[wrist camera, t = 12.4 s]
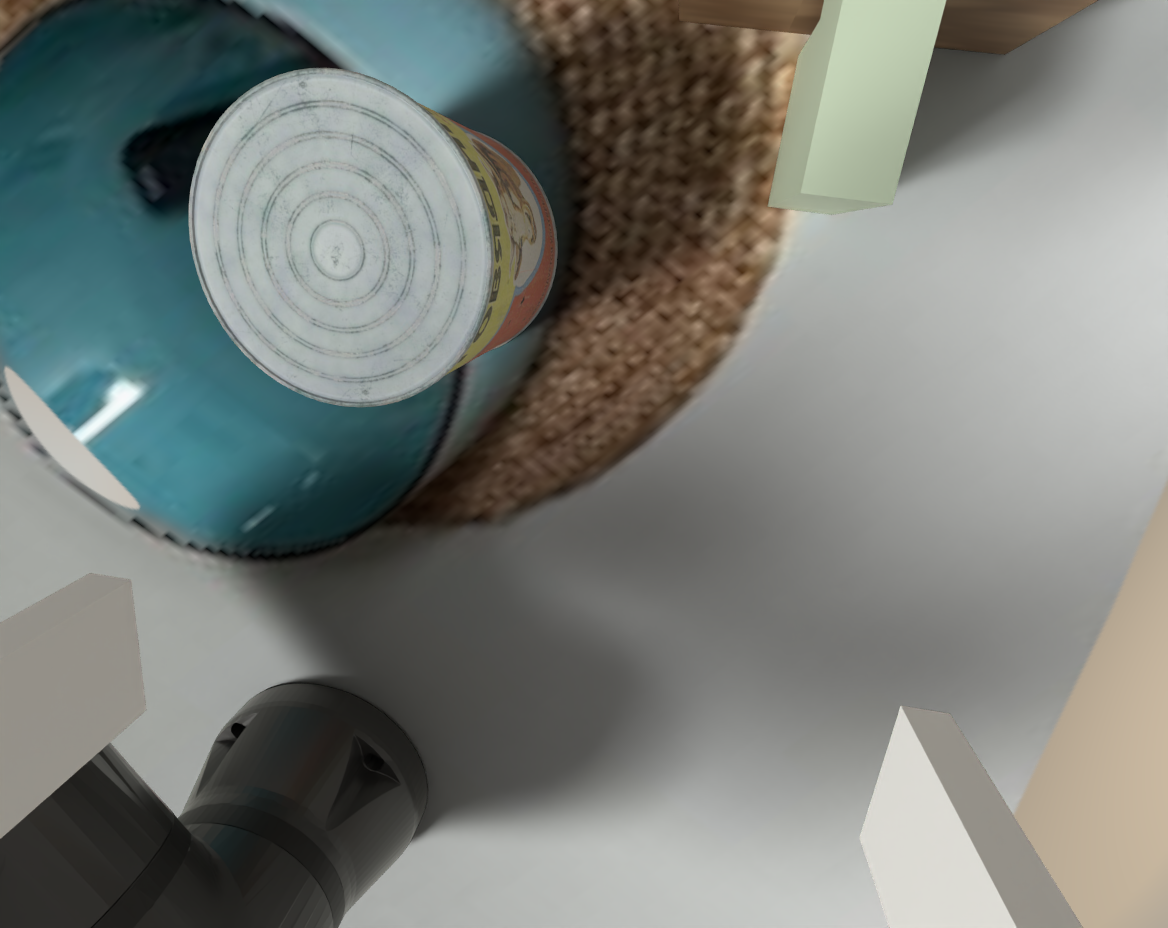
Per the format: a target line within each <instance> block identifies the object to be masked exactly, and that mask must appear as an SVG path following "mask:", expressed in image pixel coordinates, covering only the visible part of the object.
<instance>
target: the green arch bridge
mask: <svg viewBox="0 0 1168 928" xmlns="http://www.w3.org/2000/svg"><path fill="white" fill-rule="evenodd" d="M945 3H946V0H824V3H823V8H822V13H821V17H820V21H819V22H818V24H817V26H816V27H815V29H814V31H813V32H812V34H811V36H810V37H809V39H808V41H807V42H806V44H805V46H804V47H803V49H802V51H801V52H800V54H799V56H798V61H797V66H796V70H795V75H794V80H793V85H792V90H791V95H790V100H789V105H788V109H787V114H786V119H785V124H784V129H783V134H782V139H781V144H780V149H779V153H778V158H777V163H776V168H775V173H774V178H773V183H772V188H771V193H770V197H769V202H768V207H775V208H783V209H790V210H798V211H806V212H814V213H822V214H830V215H833V214H839V213H845V212H851V211H857V210H863V209H869V208H875V207H881V206H887V205H892V204H893V200H894V196H895V192H896V189H897V185H898V181H899V177H900V174H901V170H902V166H903V162H904V158H905V155H906V151H907V147H908V143H909V139H910V136H911V132H912V128H913V124H914V121H915V117H916V113H917V109H918V105H919V102H920V98H921V94H922V90H923V87H924V83H925V79H926V75H927V71H928V68H929V64H930V60H931V56H932V52H933V49H934V45H935V41H936V37H937V34H938V30H939V26H940V22H941V18H942V15H943V11H944V7H945Z"/></svg>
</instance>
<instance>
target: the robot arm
mask: <svg viewBox="0 0 1168 928" xmlns="http://www.w3.org/2000/svg"><path fill="white" fill-rule="evenodd" d="M145 711H146V701H145V693H144V684H143V676H142V667H141V659H140V651H139V642H138V634H137V625H136V617H135V608H134V600H133V591H132V583H131V580H130V579H124V578H118V577H112V576H106V575H100V574H94V573H89V574H88V575H86V576H84V577H82V578H80V579H79V580H77V581H75V582H73V583H71V584H70V585H68V586H66V587H64V588H62V589H61V590H59V591H57V592H55V593H53V594H52V595H50V596H48V597H46V598H44V599H43V600H41V601H39V602H37V603H35V604H34V605H32V606H30V607H28V608H26V609H25V610H23V611H21V612H19V613H17V614H16V615H14V616H12V617H10V618H8V619H6V620H5V621H3V622H1V623H0V928H338V927H339V925H340V923H341V921H342V919H343V917H344V915H345V914H346V912H347V911H348V910H349V909H350V908H351V907H352V906H353V905H354V904H355V903H356V902H357V901H358V900H359V899H360V898H361V897H362V895H363V894H364V893H365V892H366V891H367V890H368V889H369V888H370V887H371V886H372V885H373V884H374V883H375V882H376V881H377V880H378V879H379V878H380V877H381V876H382V875H383V874H384V873H385V872H386V871H387V869H388V868H389V867H390V866H391V865H392V864H393V863H394V862H395V861H396V860H397V859H398V858H399V857H400V856H401V855H402V853H403V852H404V851H405V849H406V848H407V846H408V845H409V843H410V841H411V839H412V837H413V835H414V833H415V831H416V829H417V826H418V824H419V822H420V820H421V818H422V816H423V813H424V810H425V807H426V802H427V781H426V776H425V772H424V768H423V765H422V763H421V760H420V758H419V756H418V754H417V752H416V750H415V749H414V747H413V745H412V744H411V742H410V741H409V739H408V738H407V737H406V736H405V734H404V733H403V732H402V731H401V730H400V729H399V727H398V726H397V725H396V724H395V723H394V722H393V721H392V720H390V719H389V718H388V717H387V716H386V715H385V714H383V713H382V712H381V711H379V710H378V709H376V708H375V707H373V706H372V705H370V704H369V703H367V702H365V701H364V700H362V699H360V698H358V697H356V696H353V695H351V694H349V693H346V692H344V691H341V690H338V689H334V688H331V687H327V686H321V685H315V684H287V685H281V686H277V687H274V688H271V689H268V690H265V691H263V692H261V693H259V694H258V695H256V696H254V697H253V698H252V699H250V700H249V701H248V702H247V703H246V704H245V705H244V706H243V707H242V708H241V709H240V710H239V711H238V712H237V713H236V714H235V715H234V716H233V717H232V718H231V719H230V721H229V722H228V723H227V724H226V725H225V726H224V727H223V729H222V730H221V732H220V733H219V735H218V736H217V738H216V740H215V742H214V744H213V746H212V748H211V750H210V752H209V755H208V757H207V759H206V761H205V763H204V766H203V768H202V770H201V772H200V774H199V777H198V779H197V781H196V783H195V785H194V788H193V790H192V792H191V794H190V796H189V799H188V801H187V803H186V805H185V807H184V810H183V812H182V814H181V815H180V816H179V817H178V818H177V817H176V816H175V815H174V813H173V812H172V811H171V810H170V809H169V807H168V806H167V805H166V804H165V803H164V802H163V801H162V800H161V799H160V798H159V797H158V796H157V794H156V793H155V792H154V791H153V790H152V789H151V788H150V787H149V786H148V785H147V784H146V783H145V781H144V780H143V779H142V778H141V777H140V776H139V775H138V774H137V773H136V772H135V770H134V769H133V768H132V767H131V766H130V765H129V764H128V762H127V761H126V760H125V759H124V758H123V757H122V756H121V754H120V753H119V752H118V751H117V750H116V749H115V748H114V746H113V745H112V744H111V743H110V742H111V741H112V740H113V739H114V738H116V737H117V736H118V735H119V734H120V733H121V732H122V731H124V730H125V729H126V728H127V727H128V726H129V725H130V724H131V723H133V722H134V721H135V720H136V719H137V718H138V717H139V716H141V715H142V714H143V713H144V712H145ZM860 842H861V845H862V848H863V851H864V854H865V857H866V860H867V863H868V866H869V869H870V872H871V875H872V878H873V881H874V884H875V887H876V890H877V893H878V896H879V899H880V902H881V905H882V908H883V911H884V914H885V917H886V920H887V923H888V926H889V928H1083V927H1082V925H1081V924H1080V922H1079V920H1078V919H1077V917H1076V916H1075V914H1074V912H1073V911H1072V909H1071V908H1070V906H1069V904H1068V903H1067V901H1066V900H1065V898H1064V896H1063V895H1062V893H1061V891H1060V890H1059V888H1058V887H1057V885H1056V883H1055V882H1054V880H1053V878H1052V877H1051V875H1050V874H1049V872H1048V870H1047V869H1046V867H1045V866H1044V864H1043V862H1042V861H1041V859H1040V858H1039V856H1038V854H1037V853H1036V851H1035V849H1034V848H1033V846H1032V845H1031V843H1030V841H1029V840H1028V838H1027V837H1026V835H1025V833H1024V832H1023V830H1022V828H1021V827H1020V825H1019V824H1018V822H1017V821H1016V819H1015V817H1014V816H1013V814H1012V812H1011V811H1010V809H1009V808H1008V806H1007V804H1006V803H1005V801H1004V799H1003V798H1002V796H1001V795H1000V793H999V791H998V790H997V788H996V787H995V785H994V783H993V782H992V780H991V779H990V777H989V775H988V774H987V772H986V770H985V769H984V767H983V766H982V764H981V762H980V761H979V759H978V758H977V756H976V754H975V753H974V751H973V750H972V748H971V746H970V745H969V743H968V741H967V740H966V738H965V737H964V735H963V733H962V732H961V730H960V729H959V727H958V725H957V724H956V722H955V721H954V719H953V717H952V716H951V714H950V713H944V712H938V711H931V710H925V709H919V708H913V707H907V706H900V709H899V713H898V716H897V719H896V722H895V725H894V729H893V732H892V735H891V738H890V741H889V745H888V748H887V751H886V754H885V757H884V761H883V764H882V767H881V770H880V774H879V777H878V780H877V783H876V786H875V790H874V793H873V796H872V799H871V802H870V806H869V809H868V812H867V815H866V818H865V822H864V825H863V828H862V831H861V834H860Z"/></svg>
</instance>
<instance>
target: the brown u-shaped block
mask: <svg viewBox="0 0 1168 928" xmlns="http://www.w3.org/2000/svg"><path fill="white" fill-rule="evenodd" d="M1096 1H1098V0H946V3H945V7H944V11H943V15H942V18H941V22H940V26H939V30H938V34H937V37H936V41H935V45H934V47H936V48H945V49H955V50H965V51H975V52H985V53H994V54H1004V55H1005V54H1007V53H1009V52H1010V51H1012V50H1014V49H1016V48H1017V47H1019V46H1021V45H1023V44H1024V43H1026V42H1028V41H1029V40H1031V39H1033V38H1035V37H1036V36H1038V35H1040V34H1041V33H1043V32H1045V31H1047V30H1048V29H1050V28H1052V27H1053V26H1055V25H1057V24H1059V23H1060V22H1062V21H1064V20H1065V19H1067V18H1069V17H1071V16H1072V15H1074V14H1076V13H1077V12H1079V11H1081V10H1083V9H1084V8H1086V7H1088V6H1089V5H1091V4H1093V3H1095V2H1096ZM678 2H679V21H682V22H691V23H701V24H711V25H721V26H730V27H740V28H750V29H760V30H770V31H779V32H789V33H799V34H809V35H811V34H812V32H813V31H814V29H815V27H816V26H817V24H818V22H819V21H820V17H821V13H822V8H823V3H824V0H678Z"/></svg>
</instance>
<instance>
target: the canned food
mask: <svg viewBox="0 0 1168 928" xmlns="http://www.w3.org/2000/svg"><path fill="white" fill-rule="evenodd" d="M189 232H190V242H191V248H192V254H193V258H194V262H195V266H196V270H197V273H198V276H199V279H200V282H201V285H202V288H203V290H204V293H205V295H206V297H207V299H208V302H209V304H210V306H211V308H212V309H213V311H214V313H215V315H216V317H217V318H218V320H219V322H220V323H221V325H222V326H223V328H224V329H225V331H226V332H227V334H228V335H229V336H230V338H231V339H232V340H233V342H234V343H235V344H236V345H237V346H238V347H239V348H240V350H241V351H242V352H243V353H244V354H245V355H246V356H247V357H248V358H249V359H250V360H251V361H252V362H253V363H254V364H255V365H256V366H258V367H259V368H260V369H261V370H262V371H264V372H265V373H266V374H267V375H269V376H270V377H272V378H273V379H275V380H276V381H278V382H279V383H281V384H282V385H284V386H286V387H288V388H289V389H291V390H293V391H295V392H297V393H300V394H302V395H304V396H306V397H309V398H312V399H315V400H318V401H321V402H325V403H329V404H333V405H340V406H347V407H373V406H380V405H386V404H390V403H394V402H398V401H401V400H404V399H406V398H409V397H411V396H414V395H415V394H417V393H419V392H421V391H423V390H425V389H427V388H428V387H430V386H431V385H433V384H434V383H436V382H437V381H439V380H440V379H441V378H442V377H443V376H445V375H446V374H448V373H450V372H452V371H454V370H455V369H457V368H459V367H461V366H463V365H464V364H466V363H468V362H470V361H471V360H473V359H475V358H477V357H479V356H480V355H482V354H484V353H486V352H488V351H490V350H493V349H495V348H498V347H500V346H502V345H504V344H506V343H507V342H509V341H511V340H512V339H514V338H515V337H516V336H518V335H519V334H520V333H521V332H522V331H524V330H525V329H526V328H527V327H528V326H529V324H530V323H531V322H532V321H533V320H534V318H535V317H536V316H537V315H538V313H539V311H540V310H541V308H542V307H543V305H544V303H545V301H546V299H547V297H548V295H549V292H550V290H551V287H552V283H553V280H554V277H555V271H556V266H557V255H558V242H557V231H556V226H555V220H554V217H553V213H552V210H551V207H550V204H549V201H548V199H547V196H546V194H545V192H544V190H543V188H542V186H541V185H540V183H539V181H538V180H537V178H536V177H535V175H534V174H533V173H532V171H531V170H530V169H529V167H528V166H527V165H526V164H525V163H524V162H523V161H522V160H521V159H520V158H519V157H518V156H517V155H516V154H515V153H514V152H513V151H512V150H510V149H509V148H507V147H506V146H505V145H503V144H502V143H500V142H499V141H497V140H495V139H493V138H492V137H489V136H487V135H485V134H483V133H480V132H477V131H474V130H471V129H469V128H467V127H465V126H463V125H461V124H459V123H457V122H455V121H453V120H451V119H449V118H447V117H445V116H443V115H441V114H439V113H437V112H435V111H433V110H431V109H429V108H427V107H425V106H423V105H421V104H419V103H417V102H416V101H414V100H413V99H412V98H410V97H409V96H408V95H406V94H404V93H402V92H401V91H399V90H397V89H396V88H394V87H392V86H390V85H388V84H386V83H384V82H382V81H379V80H377V79H375V78H372V77H369V76H366V75H363V74H360V73H357V72H352V71H347V70H342V69H332V68H309V69H302V70H295V71H291V72H288V73H284V74H280V75H278V76H275V77H273V78H270V79H268V80H266V81H264V82H262V83H260V84H259V85H257V86H255V87H253V88H252V89H250V90H249V91H248V92H246V93H245V94H244V95H242V96H241V97H240V98H238V99H237V100H236V101H235V102H234V103H233V104H232V105H231V106H230V107H229V108H228V109H227V110H226V112H225V113H224V114H223V115H222V116H221V118H220V119H219V120H218V122H217V123H216V125H215V126H214V128H213V129H212V131H211V132H210V134H209V136H208V138H207V140H206V142H205V144H204V146H203V148H202V150H201V153H200V156H199V158H198V161H197V164H196V168H195V171H194V175H193V179H192V185H191V190H190V200H189Z"/></svg>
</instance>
